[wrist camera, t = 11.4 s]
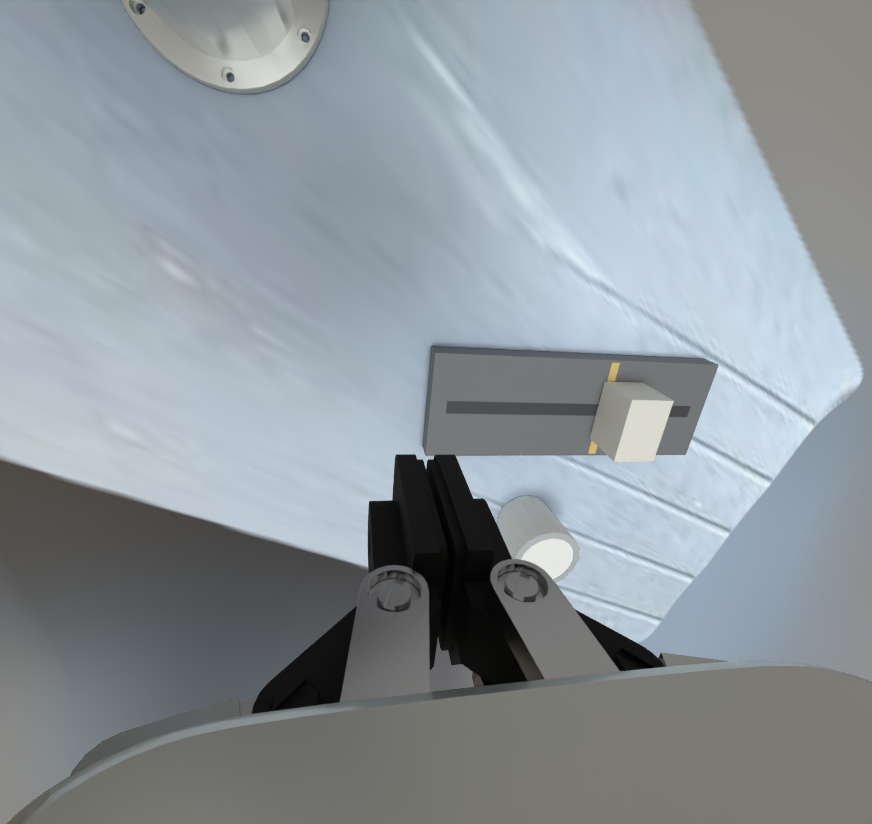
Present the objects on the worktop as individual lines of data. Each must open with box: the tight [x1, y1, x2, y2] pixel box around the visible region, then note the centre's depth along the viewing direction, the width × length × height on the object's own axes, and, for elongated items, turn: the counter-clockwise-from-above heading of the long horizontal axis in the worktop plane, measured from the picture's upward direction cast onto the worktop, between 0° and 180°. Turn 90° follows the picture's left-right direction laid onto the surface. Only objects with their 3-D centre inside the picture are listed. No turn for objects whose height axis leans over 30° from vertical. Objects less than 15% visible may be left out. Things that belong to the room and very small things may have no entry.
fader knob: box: [590, 381, 674, 462], centre depth 40 cm, size 4×6×4 cm, turn 174°
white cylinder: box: [498, 496, 579, 583], centre depth 46 cm, size 7×7×7 cm
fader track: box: [423, 346, 718, 456], centre depth 43 cm, size 28×10×2 cm, turn 84°
